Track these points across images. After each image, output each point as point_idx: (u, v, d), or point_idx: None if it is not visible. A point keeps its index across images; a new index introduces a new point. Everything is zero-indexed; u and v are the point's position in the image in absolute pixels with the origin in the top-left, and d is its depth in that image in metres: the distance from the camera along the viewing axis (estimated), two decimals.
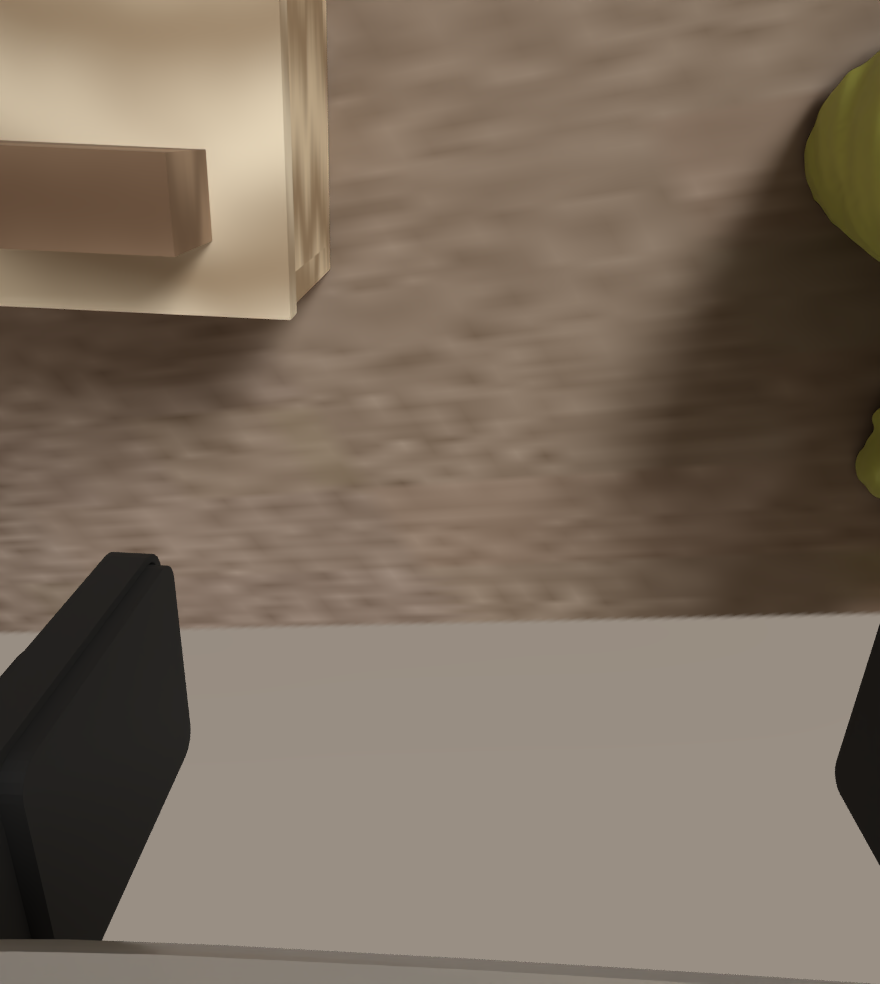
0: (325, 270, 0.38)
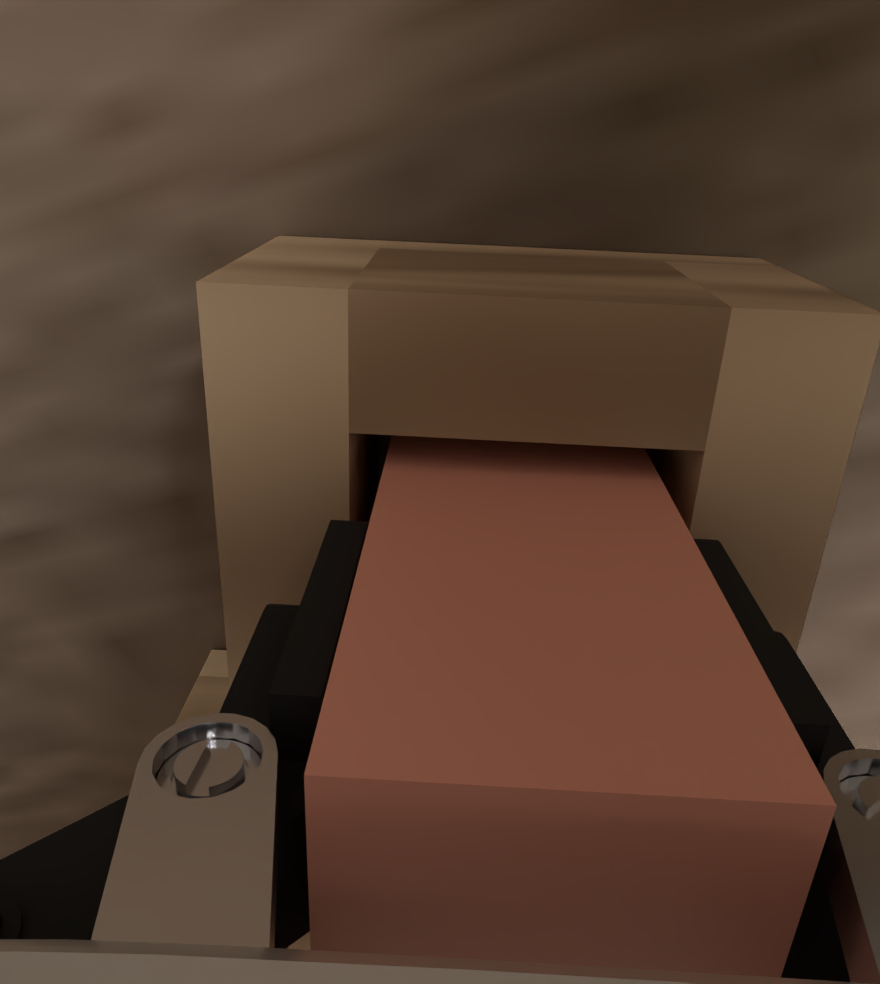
0: None
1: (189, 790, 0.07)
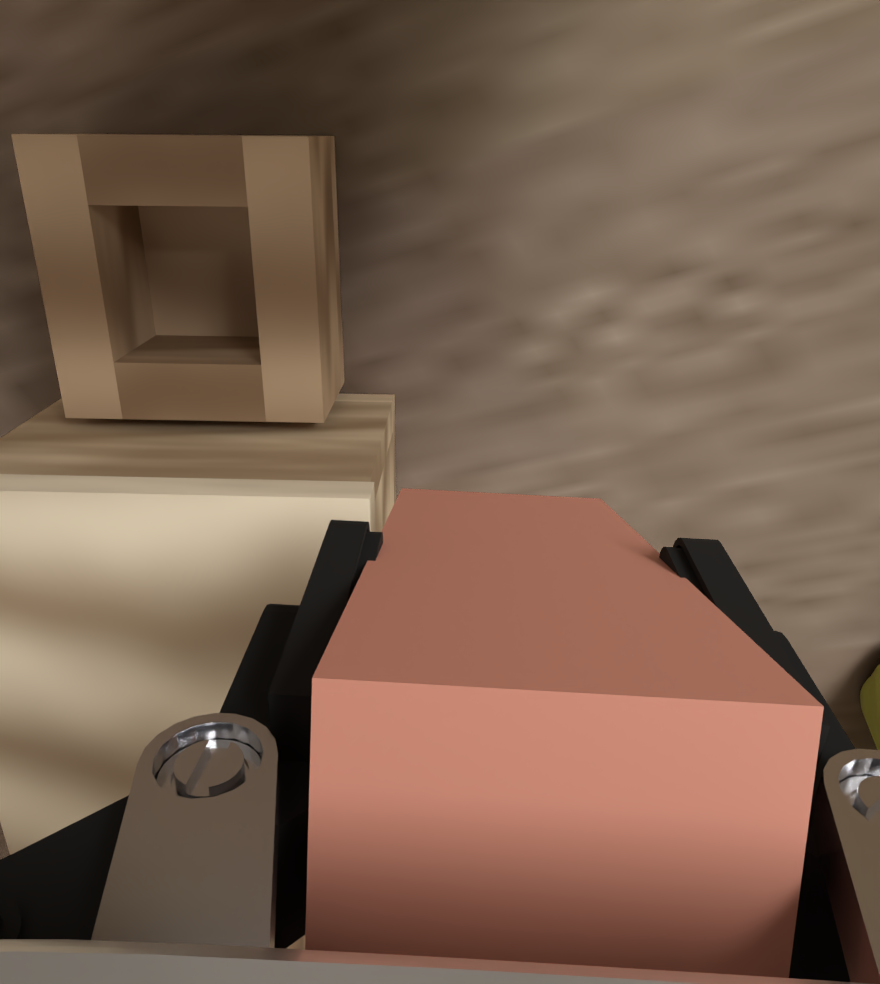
0: None
1: (188, 790, 0.07)
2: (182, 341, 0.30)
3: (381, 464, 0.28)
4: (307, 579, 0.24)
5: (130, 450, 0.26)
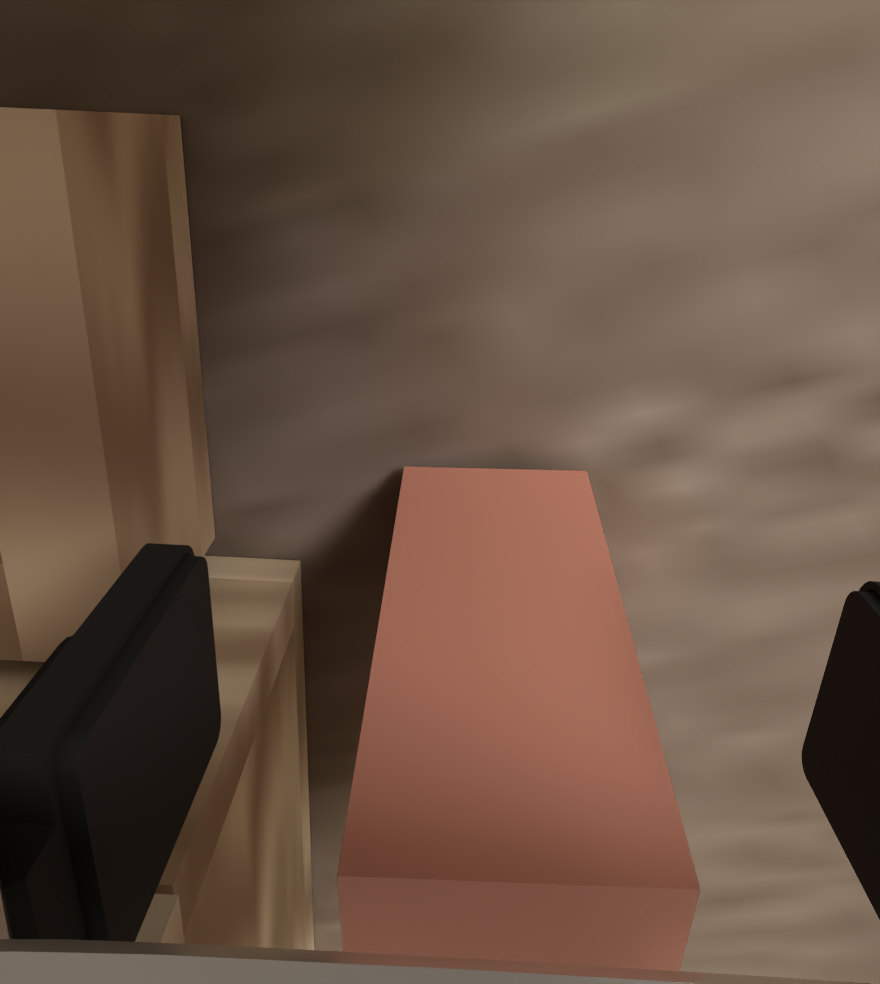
0: None
1: None
2: None
3: (244, 747, 0.15)
4: None
5: None
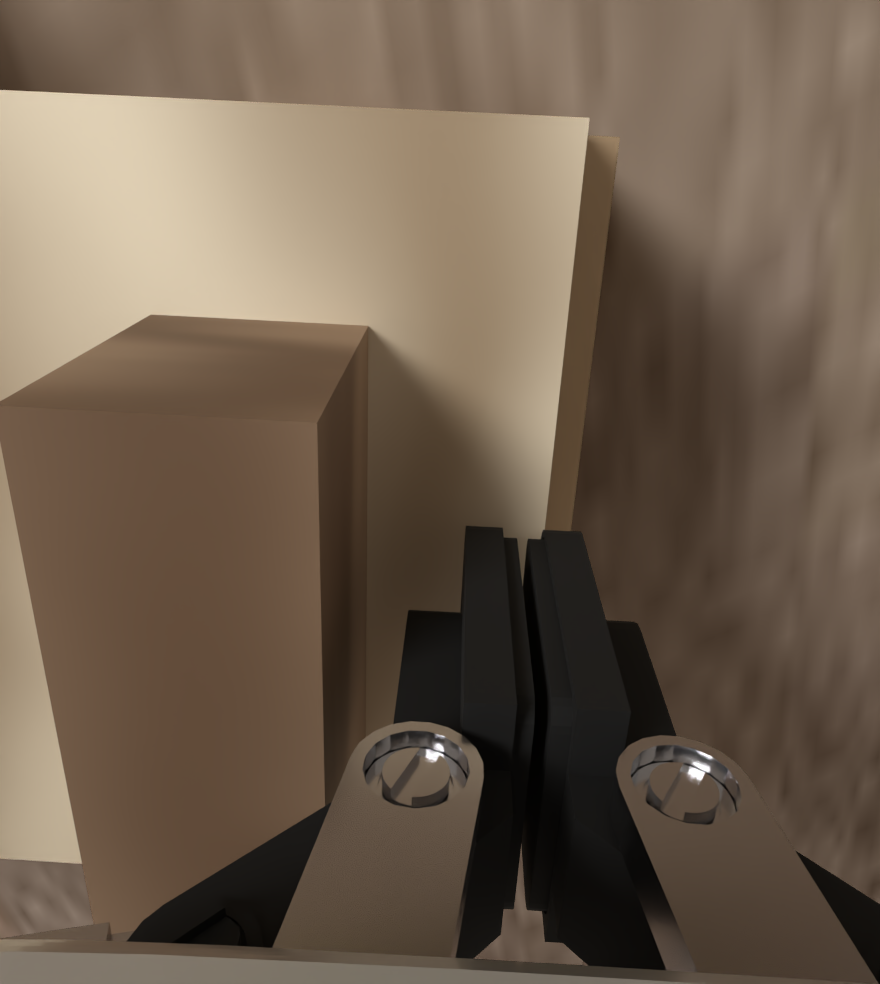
0: None
1: (393, 795, 0.07)
2: None
3: None
4: None
5: None
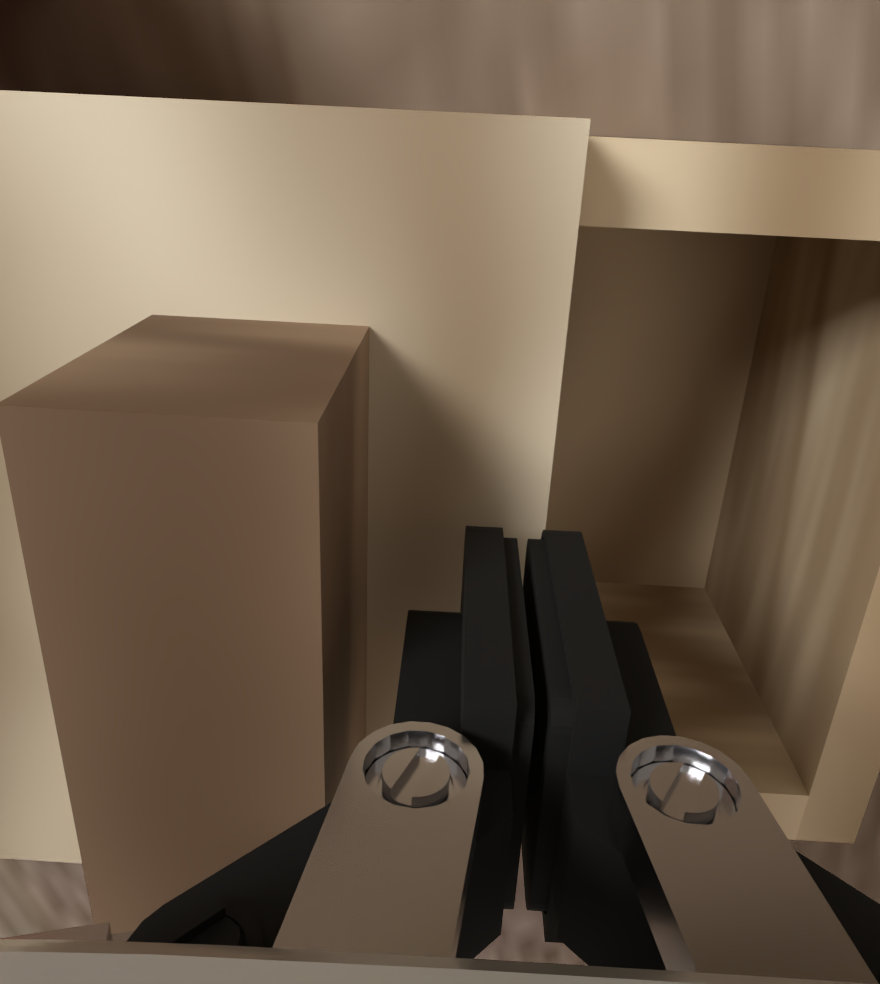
0: None
1: (393, 795, 0.07)
2: None
3: None
4: None
5: None
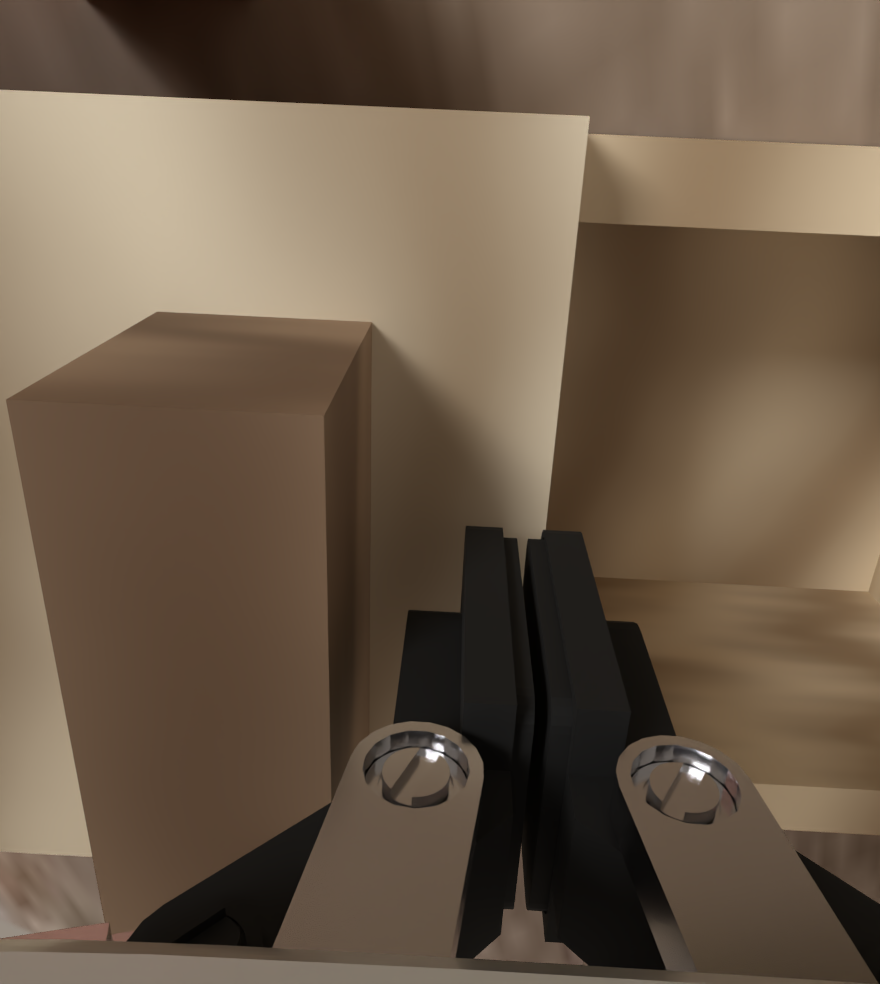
0: None
1: (393, 795, 0.07)
2: None
3: None
4: None
5: None
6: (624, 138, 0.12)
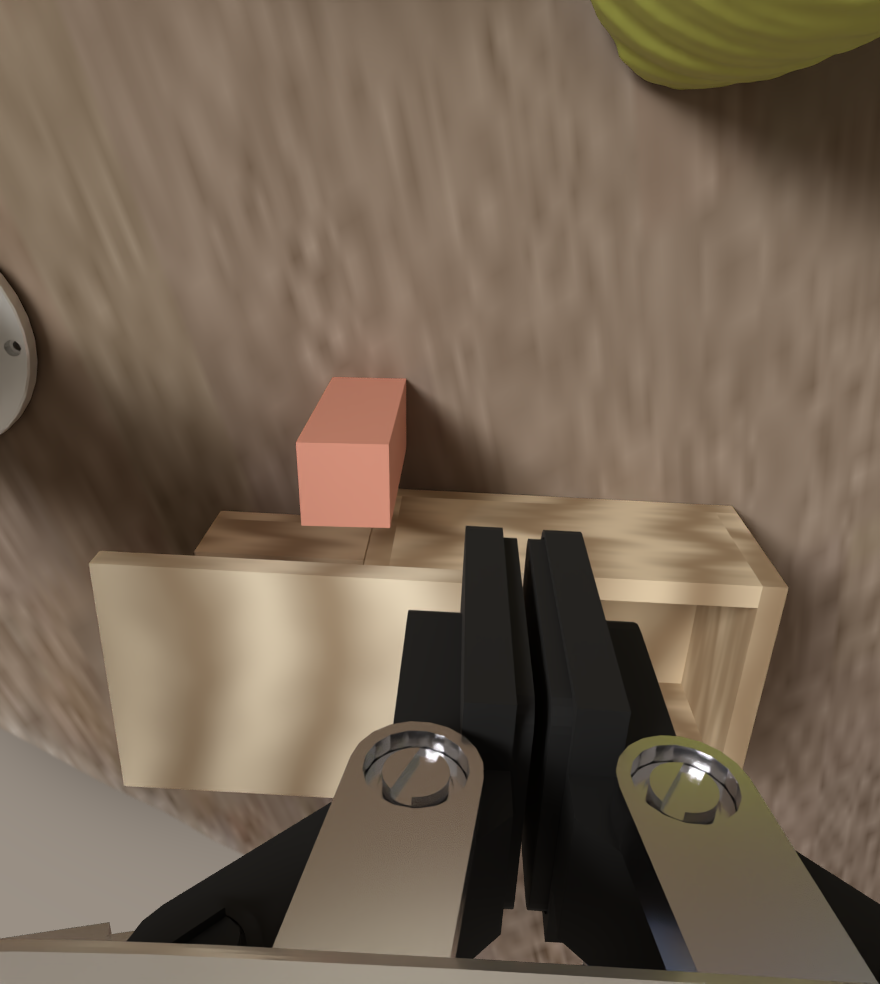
0: (736, 516, 0.45)
1: (393, 795, 0.07)
2: None
3: (388, 531, 0.41)
4: (151, 602, 0.38)
5: None
6: None
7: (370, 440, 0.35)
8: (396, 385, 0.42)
